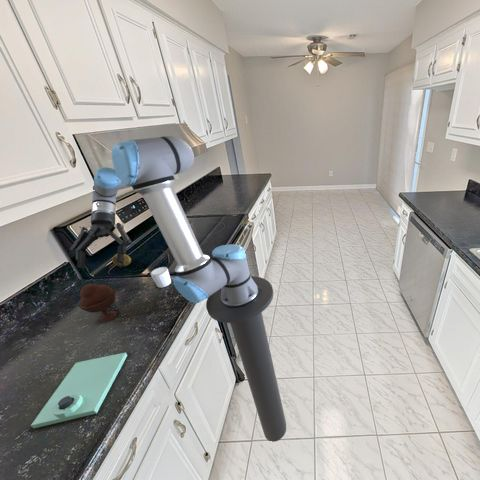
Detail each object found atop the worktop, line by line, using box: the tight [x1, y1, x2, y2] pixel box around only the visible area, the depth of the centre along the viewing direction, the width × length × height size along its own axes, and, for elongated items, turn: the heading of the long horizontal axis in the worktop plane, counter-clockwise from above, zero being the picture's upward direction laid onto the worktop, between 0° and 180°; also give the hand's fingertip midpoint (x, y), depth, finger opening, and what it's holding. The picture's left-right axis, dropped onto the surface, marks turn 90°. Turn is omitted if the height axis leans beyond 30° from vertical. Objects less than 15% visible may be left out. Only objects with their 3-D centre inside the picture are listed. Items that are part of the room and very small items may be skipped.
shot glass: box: [149, 266, 172, 289], centre depth 113 cm, size 7×7×7 cm
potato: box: [111, 253, 132, 268], centre depth 129 cm, size 8×13×8 cm, turn 23°
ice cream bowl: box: [77, 283, 118, 323], centre depth 94 cm, size 11×11×15 cm
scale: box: [30, 351, 128, 429], centre depth 71 cm, size 14×18×3 cm
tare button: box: [58, 396, 73, 409], centre depth 65 cm, size 2×2×2 cm
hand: (100, 265), depth 97 cm, fingers open, 13 cm apart
